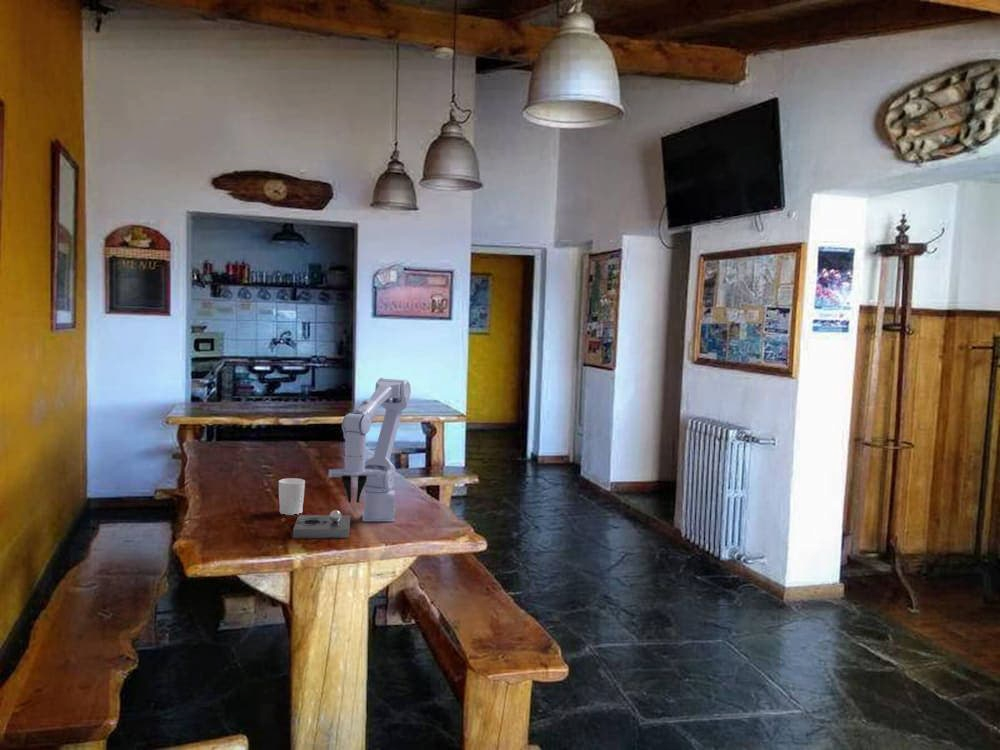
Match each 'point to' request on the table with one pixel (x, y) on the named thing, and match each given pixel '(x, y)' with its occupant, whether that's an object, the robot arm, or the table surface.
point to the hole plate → (321, 527)
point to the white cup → (291, 495)
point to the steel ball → (335, 516)
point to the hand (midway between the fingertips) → (353, 501)
